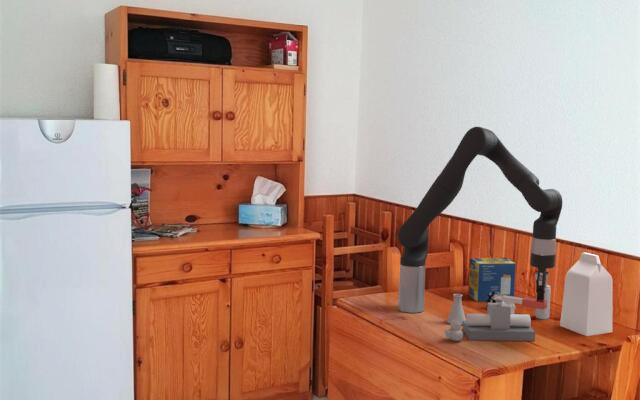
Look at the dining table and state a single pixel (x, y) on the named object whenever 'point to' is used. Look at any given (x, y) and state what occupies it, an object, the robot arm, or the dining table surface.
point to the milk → (588, 297)
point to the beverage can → (545, 313)
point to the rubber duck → (454, 331)
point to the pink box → (523, 301)
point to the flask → (457, 310)
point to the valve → (502, 302)
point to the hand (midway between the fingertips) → (540, 304)
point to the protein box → (491, 277)
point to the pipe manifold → (499, 325)
